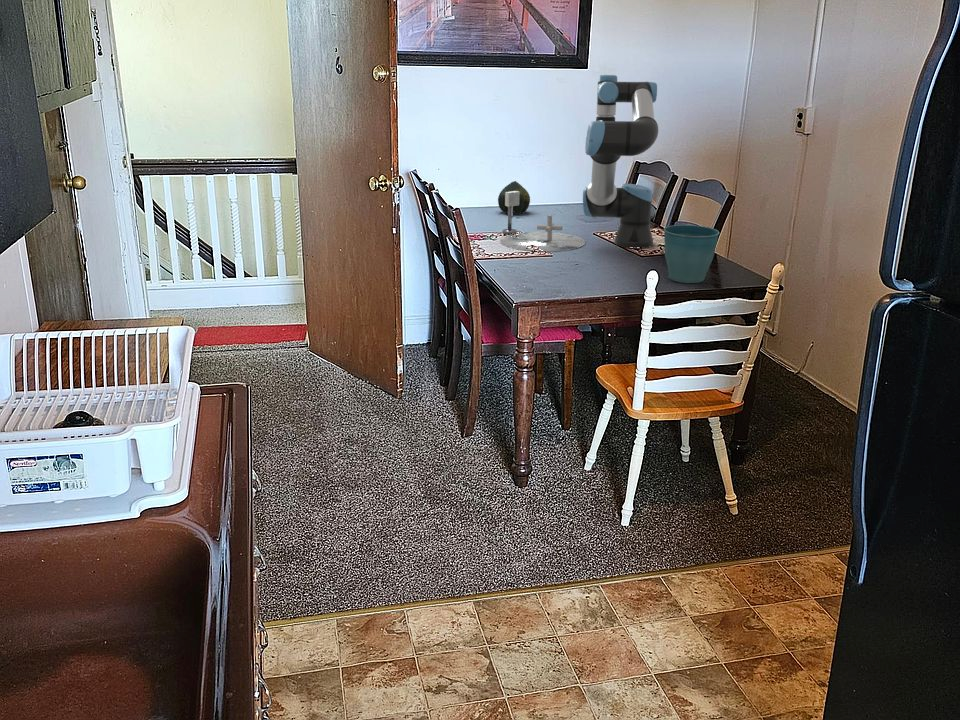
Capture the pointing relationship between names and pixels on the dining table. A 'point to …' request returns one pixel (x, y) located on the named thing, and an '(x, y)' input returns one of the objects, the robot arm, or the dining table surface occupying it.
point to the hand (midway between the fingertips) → (602, 176)
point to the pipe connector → (549, 227)
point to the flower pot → (689, 251)
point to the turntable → (544, 241)
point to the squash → (523, 198)
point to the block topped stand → (511, 208)
